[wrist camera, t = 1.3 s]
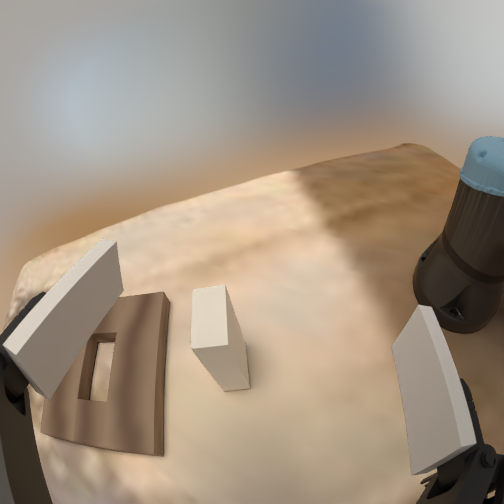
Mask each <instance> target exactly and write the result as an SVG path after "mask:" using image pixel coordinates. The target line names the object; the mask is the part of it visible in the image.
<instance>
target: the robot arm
mask: <svg viewBox="0 0 504 504" xmlns="http://www.w3.org/2000/svg"><path fill="white" fill-rule="evenodd" d="M413 287H414V292H415V295H416V298H417V300H418V302H419V304H420V305H418V306H417V308H416V310H415V311H414V313H413V314H412V316H411V318H410V319H409V321H408V322H407V324H406V325H405V327H404V329H403V330H402V332H401V333H400V335H399V336H398V338H397V339H396V341H395V342H394V343H393V345H392V346H391V348H392V352H393V356H394V361H395V366H396V370H397V375H398V380H399V385H400V391H401V396H402V402H403V408H404V414H405V421H406V428H407V436H408V444H409V454H410V465H411V475H418V474H423V473H427V472H429V471H431V470H433V469H435V468H437V473H435V474H433V475H431V476H429V477H427V478H425V479H423V480H422V481H421V483H420V484H424V483H426V482H428V481H430V482H429V483H427V484H426V485H425V487H426V488H425V490H424V492H423V493H422V495H421V496H420V498H419V500H418V501H417V503H416V504H504V455H500V454H496V451H495V449H494V448H493V447H492V446H491V445H488V444H484V441H483V437H482V433H481V428H480V424H479V420H478V417H477V413H476V410H475V406H474V402H472V400H473V399H472V395H471V392H470V389H469V387H468V386H467V384H466V383H465V381H464V380H463V379H459V376H458V373H457V370H456V367H455V364H454V361H453V358H452V356H451V353H450V350H449V348H448V345H447V342H446V340H445V337H444V335H443V332H442V330H441V328H440V326H442V327H443V328H445V329H448V330H450V331H453V332H457V333H471V332H475V331H477V330H479V329H481V328H482V327H484V326H485V325H486V324H487V323H488V321H489V320H490V319H491V318H492V317H493V315H494V314H495V312H496V310H497V308H498V305H499V302H500V299H501V296H502V293H503V289H504V138H500V137H493V136H486V137H481V138H478V139H476V140H475V141H474V142H473V143H472V144H471V145H470V147H469V150H468V154H467V156H466V160H465V163H464V166H463V167H462V168H461V171H460V181H459V184H458V188H457V191H456V194H455V197H454V201H453V204H452V207H451V210H450V212H449V215H448V218H447V221H446V224H445V226H444V229H443V232H442V233H441V234H440V235H439V236H438V238H437V239H436V240H435V241H434V242H433V243H432V244H431V245H430V246H429V247H428V248H427V249H426V250H425V251H424V253H423V254H422V255H421V257H420V259H419V261H418V263H417V266H416V268H415V271H414V275H413ZM123 291H124V290H123V284H122V278H121V272H120V265H119V258H118V250H117V242H116V241H112V240H108V239H104V238H102V239H101V240H100V241H99V242H98V243H97V244H96V245H95V246H94V247H93V248H91V249H90V250H89V251H88V252H87V253H86V254H85V255H84V256H83V257H82V258H81V259H80V260H79V261H78V262H77V263H76V264H75V265H74V266H73V267H72V268H71V269H70V270H69V271H68V272H67V273H66V274H65V275H64V276H63V277H62V278H61V279H60V280H59V281H58V282H57V283H56V284H55V285H54V286H53V287H52V288H51V289H50V290H49V291H48V292H47V293H45V292H42V293H40V294H39V295H37V296H35V297H34V298H32V299H31V300H30V301H29V303H28V304H27V305H26V306H25V308H24V309H22V310H21V311H20V313H19V315H18V316H16V317H15V318H14V319H13V321H12V322H11V323H10V324H9V325H8V327H7V328H6V329H5V330H4V331H3V333H2V334H1V335H0V504H53V503H52V500H51V497H50V494H49V491H48V488H47V485H46V481H45V478H44V474H43V471H42V467H41V463H40V459H39V454H38V450H37V445H36V440H35V435H34V429H33V423H32V416H31V408H30V399H29V392H28V389H27V386H28V384H29V383H30V385H31V386H32V387H33V388H34V390H35V391H36V392H38V393H39V394H41V395H42V396H44V397H45V398H47V399H48V400H50V399H51V397H52V396H53V394H54V392H55V391H56V389H57V387H58V386H59V384H60V382H61V381H62V379H63V378H64V376H65V374H66V373H67V371H68V370H69V368H70V367H71V365H72V363H73V362H74V360H75V359H76V357H77V356H78V354H79V353H80V351H81V350H82V348H83V347H84V345H85V344H86V342H87V341H88V339H89V338H90V337H91V335H92V334H93V332H94V331H95V329H96V328H97V327H98V325H99V324H100V322H101V321H102V319H103V318H104V317H105V315H106V314H107V312H108V311H109V310H110V308H111V307H112V306H113V304H114V303H115V302H116V300H117V299H118V298H119V296H120V295H121V294H122V292H123ZM494 490H496V492H495V496H493V497H491V498H489V499H488V498H487V495H488V493H490V492H492V491H494Z"/></svg>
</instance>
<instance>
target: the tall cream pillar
mask: <svg viewBox="0 0 504 504" xmlns="http://www.w3.org/2000/svg"><path fill="white" fill-rule="evenodd" d="M191 349H192V351H193V352H194V354H195V355H196V356H197V357H198V359H199V360H200V361H201V363H202V364H203V365H204V367H205V368H206V369H207V371H208V372H209V373H210V374H211V376H212V377H213V378H214V379H215V381H216V382H217V383H218V384H219V386H220V387H221V388H222V389H223V391H232V390H242V389H250V383H249V373H248V363H247V353H246V343H245V340H244V337H243V335H242V332H241V329H240V326H239V323H238V320H237V318H236V315H235V312H234V309H233V306H232V303H231V300H230V297H229V294H228V291H227V288H226V285H218V286H211V287H204V288H197V289H193V298H192V325H191Z"/></svg>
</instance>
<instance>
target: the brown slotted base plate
mask: <svg viewBox="0 0 504 504" xmlns="http://www.w3.org/2000/svg"><path fill="white" fill-rule="evenodd" d="M169 305H170V301H169V300H168V298H167V296H166V295H165V293H164V292H157V293H150V294H142V295H134V296H126V297H119V298H118V299H117V300H116V302H115V303H114V304H113V306H112V307H111V308H110V310H109V311H108V312H107V314H106V315H105V317H104V318H103V319H102V321H101V322H100V324H99V325H98V327H97V328H96V329H95V331H94V332H93V334H92V335H91V337H90V338H89V339H88V341H87V342H86V344H85V345H84V347H83V348H82V350H81V351H80V353H79V354H78V356H77V357H76V359H75V360H74V362H73V363H72V365H71V367H70V368H69V370H68V371H67V373H66V374H65V376H64V378H63V379H62V381H61V382H60V384H59V386H58V387H57V389H56V391H55V392H54V394H53V396H52V397H51V399H50V400H48V399H47V398H45V400H44V407H43V414H42V422H41V433H43V434H46V435H49V436H51V437H54V438H58V439H62V440H65V441H69V442H73V443H78V444H82V445H87V446H92V447H97V448H102V449H108V450H114V451H120V452H128V453H136V454H145V455H156V456H163V402H164V374H165V355H166V340H167V327H168V316H169ZM114 341H115V346H114V352H113V359H112V366H111V373H110V381H109V390H108V400H107V402H102V401H91V400H89V394H90V387H91V380H92V373H93V367H94V361H95V355H96V350H97V344H98V342H114Z"/></svg>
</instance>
